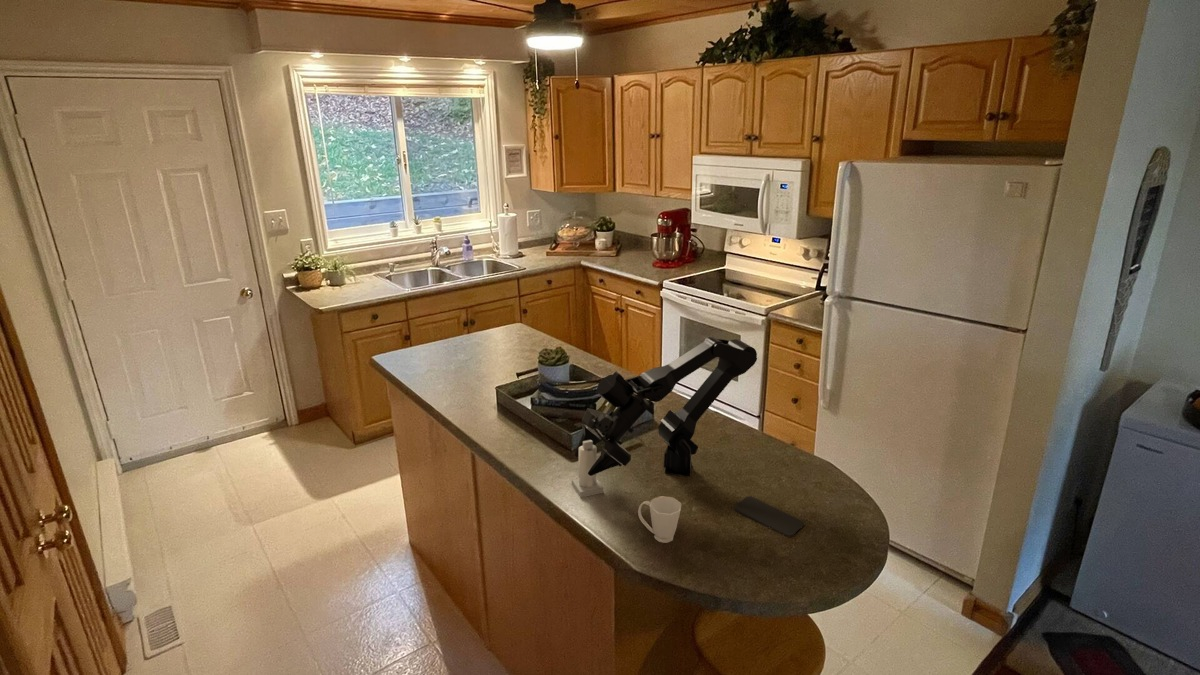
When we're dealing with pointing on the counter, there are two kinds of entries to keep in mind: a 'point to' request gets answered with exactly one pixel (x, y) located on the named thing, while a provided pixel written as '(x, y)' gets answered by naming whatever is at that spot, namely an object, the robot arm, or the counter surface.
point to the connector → (585, 482)
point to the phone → (768, 516)
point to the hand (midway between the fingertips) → (582, 465)
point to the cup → (662, 517)
